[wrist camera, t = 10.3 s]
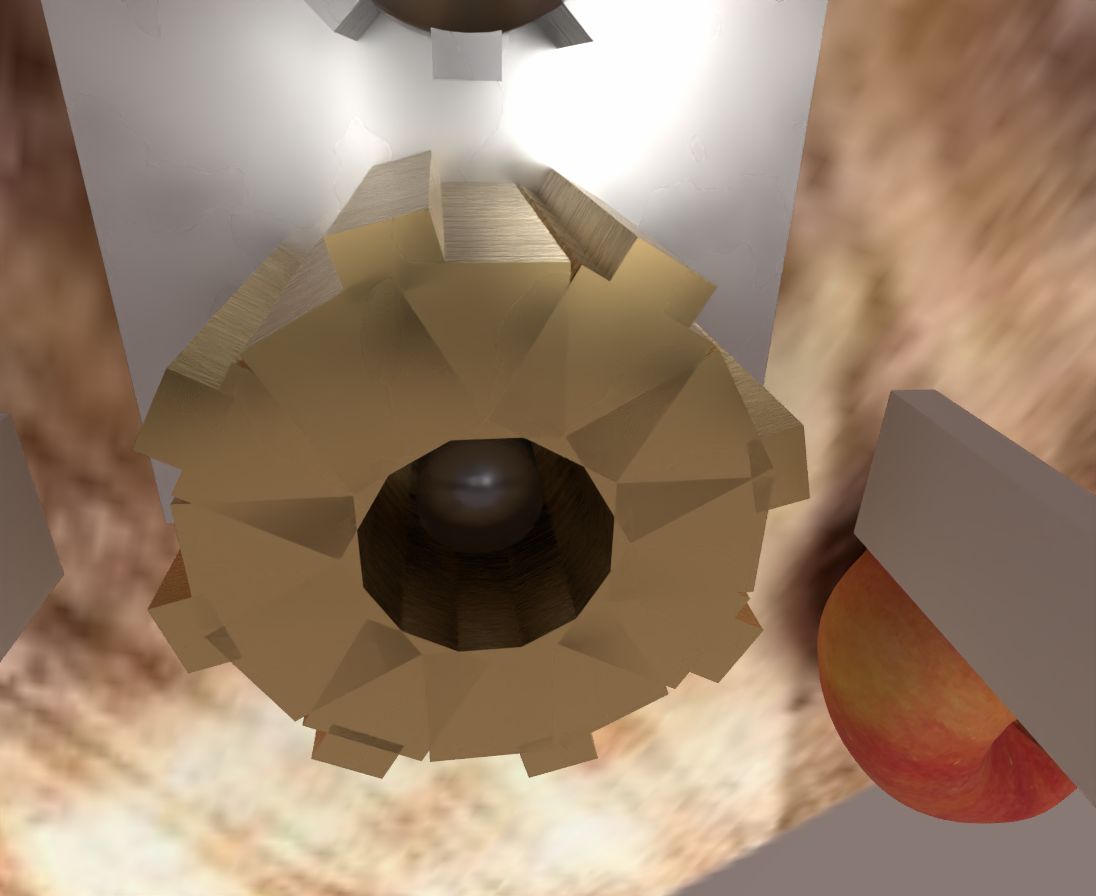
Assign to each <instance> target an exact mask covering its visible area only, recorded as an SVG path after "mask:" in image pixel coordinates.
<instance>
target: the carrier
mask: <svg viewBox="0 0 1096 896" xmlns="http://www.w3.org/2000/svg"><path fill="white" fill-rule="evenodd" d="M41 3H42V7H43V11H44V15H45V19H46V24H47V28H48V32H49V36H50V40H51V45H52V49H53V53H54V57H55V61H56V65H57V70H58V74H59V78H60V82H61V86H62V91H63V95H64V99H65V103H66V107H67V111H68V116H69V120H70V124H71V128H72V132H73V137H74V141H75V145H76V149H77V153H78V158H79V162H80V166H81V170H82V174H83V178H84V183H85V187H86V191H87V195H88V199H89V204H90V208H91V212H92V216H93V220H94V224H95V229H96V233H97V237H98V241H99V245H100V250H101V254H102V258H103V262H104V266H105V271H106V275H107V279H108V283H109V287H110V291H111V296H112V300H113V304H114V308H115V312H116V317H117V321H118V325H119V329H120V333H121V337H122V342H123V346H124V350H125V354H126V358H127V363H128V367H129V371H130V375H131V379H132V383H133V388H134V392H135V396H136V400H137V404H138V409H139V413H140V417H141V421H142V425H143V422H144V420H145V418H146V415H147V413H148V410H149V408H150V406H151V403H152V401H153V399H154V396H155V394H156V391H157V389H158V387H159V384H160V382H161V380H162V377H163V375H164V372H165V370H166V368H167V367H168V366H169V364H170V363H171V362H172V361H173V360H174V359H175V358H176V357H177V356H178V355H179V354H180V352H181V351H182V350H183V349H184V348H185V347H186V346H187V345H188V344H189V343H190V341H191V340H192V339H193V338H194V337H195V336H196V335H197V334H198V333H199V332H200V331H201V329H202V328H203V327H204V326H205V325H206V324H207V323H208V322H209V321H210V320H211V318H212V317H213V316H214V315H215V314H216V313H217V312H218V311H219V310H220V309H221V308H222V306H223V305H224V304H225V303H226V302H227V301H228V300H229V299H230V298H231V297H232V296H233V294H234V293H235V292H236V291H237V290H238V289H239V288H240V287H241V286H242V285H243V283H244V282H245V281H246V280H247V279H248V278H249V277H250V276H251V275H252V274H253V273H254V271H255V270H256V269H257V268H258V267H259V266H260V265H261V264H262V263H263V262H264V261H265V259H266V258H267V257H268V256H269V255H270V254H271V253H272V252H273V251H274V250H275V248H276V247H277V246H278V245H279V244H280V245H282V246H284V247H285V248H287V249H289V250H291V251H293V252H295V253H297V254H299V255H301V256H303V257H306V256H307V254H308V253H309V251H310V250H311V249H312V247H313V246H314V244H315V243H316V242H318V240H319V239H320V237H321V236H323V235H325V234H326V232H327V231H328V229H329V228H330V226H331V225H332V223H333V222H334V221H335V219H336V218H337V216H338V215H339V213H340V212H341V210H342V209H343V207H344V206H345V205H346V203H347V202H348V200H349V199H350V197H351V196H352V194H353V193H354V191H355V190H356V188H357V187H358V186H359V184H360V183H361V181H362V180H363V178H364V177H365V175H366V174H367V172H368V171H369V170H370V168H371V167H372V166H376V165H379V164H383V163H387V162H390V161H394V160H398V159H401V158H405V157H408V156H412V155H416V154H419V153H423V152H427V151H430V150H431V151H432V154H433V158H434V161H435V165H436V168H437V171H438V175H439V178H440V181H441V183H514V184H515V185H516V187H517V188H518V189H519V188H520V186H523V187H524V188H526V189H528V190H529V191H531V192H532V193H534V194H536V195H537V196H538V194H539V193H540V191H541V189H542V187H543V186H544V184H545V182H546V180H547V179H548V177H549V175H550V173H551V171H552V170H553V169H554V170H556V171H557V172H559V173H561V174H562V175H564V176H565V177H567V178H568V179H570V180H572V181H573V182H575V183H576V184H578V185H579V186H581V187H583V188H584V189H586V190H587V191H589V192H590V193H592V194H593V195H595V196H597V197H598V198H600V199H601V200H603V201H604V202H605V203H607V204H608V205H609V206H611V207H612V208H613V209H615V210H616V211H617V212H619V213H620V214H621V215H623V216H624V217H625V218H627V219H628V220H629V221H631V222H632V223H633V224H635V225H636V226H637V227H639V228H640V229H641V230H643V231H644V232H645V233H646V234H648V235H649V236H650V237H652V238H653V239H654V240H656V241H657V242H658V243H660V244H661V245H662V246H664V247H665V248H666V249H668V250H669V251H670V252H672V253H673V254H674V255H676V256H677V257H678V258H680V259H681V260H682V261H684V262H685V263H686V264H688V265H689V266H690V267H692V268H693V269H694V270H695V271H697V272H698V273H699V274H701V275H702V276H703V277H705V278H706V279H707V280H709V281H710V282H711V283H713V284H714V285H715V286H717V288H716V290H715V291H714V293H713V294H712V296H711V297H710V299H709V300H708V302H707V303H706V305H705V306H704V307H703V309H702V310H701V312H700V313H699V315H698V316H697V318H696V319H695V322H696V323H697V324H698V325H699V326H700V327H701V328H702V329H703V330H704V331H705V332H706V333H707V334H708V335H709V336H710V337H711V338H712V339H714V340H715V341H716V342H717V343H718V344H719V345H720V346H721V347H722V348H723V349H724V350H725V351H726V352H727V353H728V354H729V355H730V356H731V357H732V358H733V359H734V360H736V361H737V362H738V363H739V364H740V365H741V366H742V367H743V368H744V369H745V370H746V371H747V372H748V373H749V374H750V375H751V376H752V377H753V378H754V379H755V380H756V381H758V382H759V383H760V384H761V385H762V386H763V383H764V377H765V371H766V365H767V359H768V353H769V347H770V341H771V336H772V330H773V324H774V318H775V312H776V306H777V300H778V294H779V288H780V282H781V276H782V270H783V265H784V259H785V253H786V247H787V241H788V235H789V229H790V223H791V217H792V211H793V205H794V200H795V194H796V188H797V182H798V176H799V170H800V164H801V158H802V152H803V146H804V140H805V134H806V129H807V123H808V117H809V111H810V105H811V99H812V93H813V87H814V81H815V75H816V69H817V64H818V58H819V52H820V46H821V40H822V34H823V28H824V22H825V16H826V10H827V4H828V0H41ZM150 459H151V463H152V467H153V471H154V476H155V480H156V484H157V488H158V492H159V496H160V501H161V505H162V509H163V513H164V517H165V522H166V524H167V523H174V520H173V516H172V511H171V507H170V504H171V502H172V500H173V499H174V496H171V494H172V491H173V489H174V487H175V485H176V483H177V480H178V478H179V476H180V474H181V472H182V470H180V469H178V468H175V467H173V466H170V465H168V464H165V463H163V462H160V461H158V460H155V459H153V458H150ZM542 505H543V488H542V483H541V479H540V475H539V471H538V467H537V464H536V460H535V456H534V452H533V448H532V444H531V441H530V440H528V439H526V438H497V439H471V440H450V441H448V442H447V443H445V444H443V445H441V446H440V447H438V448H436V449H434V450H432V451H431V452H429V453H427V454H425V455H424V456H422V457H420V458H418V460H417V482H416V509H417V513H418V517H419V519H420V521H421V523H422V525H423V527H424V528H425V530H426V531H427V532H428V533H429V534H430V535H431V536H432V537H433V538H434V539H435V540H436V541H438V542H439V543H441V544H443V545H444V546H446V547H449V548H451V549H454V550H457V551H461V552H465V553H489V552H494V551H498V550H501V549H504V548H506V547H508V546H510V545H512V544H514V543H516V542H517V541H519V540H520V539H521V538H523V537H524V536H525V535H526V534H527V533H528V532H529V531H530V530H531V529H532V527H533V526H534V525H535V523H536V521H537V520H538V518H539V515H540V513H541V509H542Z"/></svg>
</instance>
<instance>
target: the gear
mask: <svg viewBox="0 0 1096 896" xmlns="http://www.w3.org/2000/svg"><path fill="white" fill-rule="evenodd" d="M716 288H717V286H715V285H714V284H713V283H711V282H710V281H709V280H707V279H706V278H705V277H703V276H702V275H701V274H699V273H698V272H697V271H695V270H694V269H693V268H692V267H690V266H689V265H688V264H686V263H685V262H684V261H682V260H681V259H680V258H678V257H677V256H676V255H674V254H673V253H672V252H670V251H669V250H668V249H666V248H665V247H664V246H662V245H661V244H660V243H658V242H657V241H656V240H654V239H653V238H652V237H650V236H649V235H648V234H646V233H645V232H644V231H643V230H641V229H640V228H639V227H637V226H636V225H635V224H633V223H632V222H631V221H629V220H628V219H627V218H625V217H624V216H623V215H621V214H620V213H619V212H617V211H616V210H615V209H613V208H612V207H611V206H609V205H608V204H607V203H605V202H604V201H603V200H601V199H600V198H598V197H597V196H595V195H593V194H592V193H590V192H589V191H587V190H586V189H584V188H583V187H581V186H579V185H578V184H576V183H575V182H573V181H572V180H570V179H568V178H567V177H565V176H564V175H562V174H561V173H559V172H557V171H556V170H554V169H553V170H552V171H551V173H550V175H549V177H548V179H547V180H546V182H545V184H544V186H543V187H542V189H541V191H540V193H539V194H538V196H537V195H536V194H534V193H532V192H531V191H529V190H528V189H526V188H524V187H523V186H520V188H519V189H518V188H517V187H516V185H515V184H514V183H441V181H440V178H439V175H438V171H437V168H436V165H435V161H434V158H433V154H432V151H431V150H430V151H427V152H423V153H419V154H416V155H412V156H408V157H405V158H401V159H398V160H394V161H390V162H387V163H383V164H379V165H376V166H372V167H371V168H370V170H369V171H368V172H367V174H366V175H365V177H364V178H363V180H362V181H361V183H360V184H359V186H358V187H357V188H356V190H355V191H354V193H353V194H352V196H351V197H350V199H349V200H348V202H347V203H346V205H345V206H344V207H343V209H342V210H341V212H340V213H339V215H338V216H337V218H336V219H335V221H334V222H333V223H332V225H331V226H330V228H329V229H328V231H327V232H326V234H325V235H323V236H321V237H320V239H319V240H318V242H316V243H315V244H314V246H313V247H312V249H311V250H310V251H309V253H308V254H307V256H306V257H303V256H301V255H299V254H297V253H295V252H293V251H291V250H289V249H287V248H285V247H284V246H282V245H280V244H279V245H278V246H277V247H276V248H275V250H274V251H273V252H272V253H271V254H270V255H269V256H268V257H267V258H266V259H265V261H264V262H263V263H262V264H261V265H260V266H259V267H258V268H257V269H256V270H255V271H254V273H253V274H252V275H251V276H250V277H249V278H248V279H247V280H246V281H245V282H244V283H243V285H242V286H241V287H240V288H239V289H238V290H237V291H236V292H235V293H234V294H233V296H232V297H231V298H230V299H229V300H228V301H227V302H226V303H225V304H224V305H223V306H222V308H221V309H220V310H219V311H218V312H217V313H216V314H215V315H214V316H213V317H212V318H211V320H210V321H209V322H208V323H207V324H206V325H205V326H204V327H203V328H202V329H201V331H200V332H199V333H198V334H197V335H196V336H195V337H194V338H193V339H192V340H191V341H190V343H189V344H188V345H187V346H186V347H185V348H184V349H183V350H182V351H181V352H180V354H179V355H178V356H177V357H176V358H175V359H174V360H173V361H172V362H171V363H170V364H169V366H168V367H167V368H166V370H165V372H164V375H163V377H162V380H161V382H160V384H159V387H158V389H157V391H156V394H155V396H154V399H153V401H152V403H151V406H150V408H149V410H148V413H147V415H146V418H145V420H144V422H143V425H142V427H141V429H140V432H139V434H138V437H137V439H136V441H135V444H134V446H133V448H132V451H135V452H138V453H140V454H143V455H145V456H148V457H150V458H153V459H155V460H158V461H160V462H163V463H165V464H168V465H170V466H173V467H175V468H178V469H180V470H182V472H181V474H180V476H179V478H178V480H177V483H176V485H175V487H174V489H173V491H172V494H171V496H174V499H173V500H172V502H171V504H170V507H171V511H172V516H173V520H174V524H175V528H176V532H177V537H178V541H179V545H180V550H179V552H178V554H177V556H176V558H175V559H174V561H173V563H172V565H171V567H170V569H169V571H168V572H167V574H166V576H165V578H164V580H163V582H162V584H161V585H160V587H159V589H158V591H157V593H156V595H155V597H154V599H153V600H152V602H151V604H150V606H149V608H148V612H149V613H150V615H151V616H152V618H153V619H154V621H155V622H156V624H157V625H158V627H159V629H160V630H161V632H162V633H163V635H164V636H165V638H166V639H167V641H168V642H169V644H170V646H171V647H172V649H173V650H174V652H175V653H176V655H177V656H178V658H179V659H180V661H181V663H182V664H183V666H184V667H185V669H186V670H187V672H188V673H191V672H195V671H198V670H202V669H206V668H209V667H213V666H216V665H220V664H223V663H227V662H230V661H231V662H232V663H233V664H234V665H235V666H236V667H237V668H238V669H239V670H240V671H242V672H243V673H244V674H245V675H246V676H247V677H248V678H249V679H250V680H251V681H252V682H253V683H254V684H255V685H257V686H258V687H259V688H260V689H261V690H262V691H263V692H264V693H265V694H266V695H267V696H268V697H269V698H270V699H272V700H273V701H274V702H275V703H276V704H277V705H278V706H279V707H280V708H281V709H282V710H283V711H284V712H286V713H287V714H288V715H289V716H290V717H291V718H292V719H293V720H294V721H297V720H298V719H300V718H302V717H304V721H303V726H306V727H309V728H313V729H316V736H315V741H314V747H313V752H312V758H311V759H314V760H318V761H321V762H325V763H328V764H332V765H336V766H339V767H343V768H346V769H350V770H353V771H357V772H360V773H364V774H367V775H371V776H374V777H378V778H381V779H382V778H383V777H384V775H385V774H386V772H387V771H388V769H389V768H390V767H391V765H392V764H393V762H394V761H395V759H396V758H397V756H398V755H399V754H400V755H403V756H406V757H410V758H413V759H416V760H420V761H422V760H423V758H424V757H425V756H426V754H427V753H428V751H429V752H430V762H433V761H444V760H455V759H465V758H476V757H487V756H497V755H508V754H518V753H520V756H521V758H522V761H523V763H524V766H525V769H526V771H527V774H528V777H529V778H530V777H533V776H537V775H541V774H544V773H548V772H551V771H555V770H558V769H562V768H565V767H569V766H572V765H576V764H579V763H583V762H586V761H590V760H593V759H597V758H598V757H597V753H596V749H595V744H594V740H593V736H592V732H594V731H596V730H598V729H600V728H602V727H604V726H606V725H608V724H610V723H612V722H614V721H616V720H618V719H620V718H622V717H624V716H626V715H628V714H630V713H632V712H634V711H636V710H638V709H640V708H642V707H644V706H646V705H648V704H650V703H652V702H654V701H656V700H658V699H660V698H662V697H664V696H666V695H668V691H667V688H666V686H669V687H671V688H674V689H675V688H676V687H677V686H678V685H679V684H680V682H681V681H682V680H683V679H684V678H685V676H686V675H687V674H688V673H689V672H691V673H694V674H696V675H699V676H701V677H704V678H706V679H709V680H712V681H714V682H717V683H719V682H720V681H721V679H722V678H723V677H724V676H725V675H726V673H727V672H728V671H729V670H730V669H731V668H732V666H733V665H734V664H735V663H736V662H737V661H738V659H739V658H740V657H741V656H742V655H743V654H744V652H745V651H746V650H747V649H748V648H749V646H750V645H751V644H752V643H753V642H754V641H755V639H756V638H757V637H758V636H759V635H760V634H761V632H762V631H763V629H762V627H761V626H760V624H759V622H758V621H757V619H756V617H755V616H754V614H753V612H752V610H751V609H750V607H749V605H748V604H747V602H748V600H749V599H750V598H749V597H748V595H747V593H746V592H753V591H754V585H755V580H756V574H757V569H758V563H759V558H760V552H761V547H762V541H763V536H764V530H765V525H766V519H767V514H768V510H769V509H773V508H776V507H780V506H783V505H787V504H790V503H794V502H798V501H801V500H805V499H808V498H810V495H809V483H808V471H807V460H806V448H805V436H804V425H803V424H802V423H801V422H799V421H798V420H797V419H796V418H795V417H794V416H793V415H792V414H791V413H790V412H789V411H788V410H787V409H786V408H785V407H784V406H783V405H782V404H781V403H780V402H778V401H777V400H776V399H775V398H774V397H773V396H772V395H771V394H770V393H769V392H768V391H767V390H766V389H765V388H764V387H763V386H762V385H761V384H760V383H759V382H758V381H756V380H755V379H754V378H753V377H752V376H751V375H750V374H749V373H748V372H747V371H746V370H745V369H744V368H743V367H742V366H741V365H740V364H739V363H738V362H737V361H736V360H734V359H733V358H732V357H731V356H730V355H729V354H728V353H727V352H726V351H725V350H724V349H723V348H722V347H721V346H720V345H719V344H718V343H717V342H716V341H715V340H714V339H712V338H711V337H710V336H709V335H708V334H707V333H706V332H705V331H704V330H703V329H702V328H701V327H700V326H699V325H698V324H697V323H696V322H695V319H696V318H697V316H698V315H699V313H700V312H701V310H702V309H703V307H704V306H705V305H706V303H707V302H708V300H709V299H710V297H711V296H712V294H713V293H714V291H715V290H716ZM497 438H526V439H528V440H530V441H531V444H532V448H533V452H534V456H535V460H536V464H537V467H538V471H539V475H540V479H541V483H542V488H543V505H542V509H541V513H540V515H539V518H538V520H537V521H536V523H535V525H534V526H533V527H532V529H531V530H530V531H529V532H528V533H527V534H526V535H525V536H524V537H523V538H521V539H520V540H519V541H517V542H516V543H514V544H512V545H510V546H508V547H506V548H504V549H501V550H498V551H494V552H489V553H465V552H461V551H457V550H454V549H451V548H449V547H446V546H444V545H443V544H441V543H439V542H438V541H436V540H435V539H434V538H433V537H432V536H431V535H430V534H429V533H428V532H427V531H426V530H425V528H424V527H423V525H422V523H421V521H420V519H419V517H418V513H417V509H416V482H417V460H418V458H420V457H422V456H424V455H425V454H427V453H429V452H431V451H432V450H434V449H436V448H438V447H440V446H441V445H443V444H445V443H447V442H448V441H450V440H471V439H497ZM665 685H666V686H665Z"/></svg>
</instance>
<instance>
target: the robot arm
mask: <svg viewBox="0 0 1096 896" xmlns="http://www.w3.org/2000/svg"><path fill="white" fill-rule="evenodd" d="M854 534H855V535H856V536H857V537H858V539H859V540H860V541H861V542H862V543H863V544H864V545H865V547H866V548H867V549H868V550H869V551H870V552H871V553H872V554H873V556H874V557H875V558H876V559H877V560H878V561H879V562H880V564H881V565H882V566H883V567H884V568H885V569H886V570H887V572H888V573H889V574H890V575H891V576H892V577H893V578H894V579H895V581H896V582H897V583H898V584H899V585H900V586H901V587H902V589H903V590H904V591H905V592H906V593H907V594H908V595H909V597H910V598H911V599H912V600H913V601H914V602H915V603H916V605H917V606H918V607H919V608H920V609H921V610H922V611H923V612H924V614H925V615H926V616H927V617H928V618H929V619H930V620H931V622H932V623H933V624H934V625H935V626H936V627H937V628H938V630H939V631H940V632H941V633H942V634H943V635H944V636H945V637H946V639H947V640H948V641H949V642H950V643H951V644H952V645H953V647H954V648H955V649H956V650H957V651H958V652H959V653H960V655H961V656H962V657H963V658H964V659H965V660H966V661H967V662H968V664H969V665H970V666H971V667H972V668H973V669H974V670H975V672H976V673H977V674H978V675H979V676H980V677H981V678H982V680H983V681H984V682H985V683H986V684H987V685H988V686H989V687H990V689H991V690H992V691H993V692H994V693H995V694H996V695H997V697H998V698H999V699H1000V700H1001V701H1002V702H1003V703H1004V705H1005V706H1006V707H1007V708H1008V709H1009V710H1010V711H1011V712H1012V714H1013V715H1014V716H1015V717H1016V718H1017V719H1018V720H1019V722H1020V723H1021V724H1022V725H1023V726H1024V727H1025V728H1026V730H1027V731H1028V732H1029V733H1030V734H1031V735H1032V736H1033V737H1034V739H1035V740H1036V741H1037V742H1038V743H1039V744H1040V745H1041V747H1042V748H1043V749H1044V750H1045V751H1046V752H1047V753H1048V755H1049V756H1050V757H1051V758H1052V759H1053V760H1054V761H1055V762H1056V764H1057V765H1058V766H1059V767H1060V768H1061V769H1062V770H1063V772H1064V773H1065V774H1066V775H1067V776H1068V777H1069V778H1070V780H1071V781H1072V782H1073V783H1074V784H1075V785H1076V786H1077V788H1078V789H1079V790H1080V791H1081V792H1082V793H1083V794H1084V795H1085V796H1086V798H1087V799H1088V800H1089V801H1090V802H1091V803H1092V805H1093V806H1094V807H1095V808H1096V496H1095V495H1093V494H1092V493H1090V492H1089V491H1087V490H1086V489H1084V488H1083V487H1081V486H1080V485H1078V484H1077V483H1075V482H1073V481H1072V480H1070V479H1069V478H1067V477H1066V476H1064V475H1063V474H1061V473H1060V472H1058V471H1057V470H1055V469H1054V468H1052V467H1051V466H1049V465H1048V464H1046V463H1045V462H1043V461H1042V460H1040V459H1039V458H1037V457H1036V456H1034V455H1033V454H1031V453H1030V452H1028V451H1027V450H1025V449H1024V448H1022V447H1021V446H1019V445H1018V444H1016V443H1015V442H1013V441H1012V440H1010V439H1009V438H1007V437H1006V436H1004V435H1003V434H1001V433H1000V432H998V431H997V430H995V429H993V428H992V427H990V426H989V425H987V424H986V423H984V422H983V421H981V420H980V419H978V418H977V417H975V416H974V415H972V414H971V413H969V412H968V411H966V410H965V409H963V408H962V407H960V406H959V405H957V404H956V403H954V402H953V401H951V400H950V399H948V398H947V397H945V396H944V395H942V394H941V393H939V392H938V391H936V390H897V391H891V392H890V396H889V400H888V404H887V408H886V411H885V415H884V419H883V423H882V427H881V430H880V434H879V438H878V442H877V446H876V449H875V453H874V457H873V461H872V465H871V468H870V472H869V476H868V480H867V484H866V487H865V491H864V495H863V499H862V503H861V507H860V510H859V514H858V518H857V522H856V526H855V529H854ZM63 575H64V572H63V569H62V566H61V563H60V560H59V557H58V554H57V551H56V548H55V545H54V542H53V539H52V536H51V533H50V530H49V527H48V524H47V521H46V518H45V515H44V512H43V509H42V506H41V503H40V500H39V497H38V494H37V491H36V488H35V485H34V482H33V479H32V476H31V473H30V470H29V467H28V464H27V461H26V458H25V455H24V452H23V449H22V446H21V443H20V440H19V437H18V434H17V431H16V428H15V425H14V422H13V419H12V416H11V413H3V414H0V662H1V660H2V659H3V658H4V656H5V655H6V654H7V652H8V651H9V649H10V648H11V647H12V645H13V644H14V643H15V641H16V640H17V638H18V637H19V636H20V634H21V633H22V632H23V630H24V629H25V627H26V626H27V625H28V623H29V622H30V621H31V619H32V618H33V616H34V615H35V614H36V612H37V611H38V610H39V608H40V607H41V605H42V604H43V603H44V601H45V600H46V599H47V597H48V596H49V594H50V593H51V592H52V590H53V589H54V588H55V586H56V585H57V583H58V582H59V581H60V579H61V578H62V577H63Z"/></svg>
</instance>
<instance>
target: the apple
mask: <svg viewBox="0 0 1096 896" xmlns="http://www.w3.org/2000/svg"><path fill="white" fill-rule="evenodd" d="M817 654H818V668H819V675H820V682H821V687H822V692H823V695H824V699H825V702H826V705H827V708H828V712H829V714H830V717H831V719H832V721H833V724H834V726H835V728H836V730H837V732H838V734H839V736H840V738H841V740H842V741H843V743H844V745H845V746H846V748H847V749H848V751H849V752H850V754H851V755H852V756H853V758H854V759H855V760H856V762H857V763H858V764H859V766H860V767H861V768H862V770H863V771H864V772H865V773H866V774H867V775H868V776H869V777H870V778H871V779H872V780H873V781H874V782H875V783H876V784H877V785H878V786H879V787H880V788H881V789H883V790H884V791H885V792H886V793H887V794H889V795H890V796H891V797H893V798H894V799H896V800H897V801H899V802H901V803H902V804H904V805H906V806H908V807H910V808H912V809H914V810H916V811H919V812H921V813H924V814H927V815H929V816H933V817H936V818H940V819H944V820H950V821H956V822H964V823H1003V822H1014V821H1019V820H1024V819H1028V818H1032V817H1034V816H1037V815H1039V814H1041V813H1044V812H1046V811H1048V810H1049V809H1051V808H1052V807H1054V806H1055V805H1057V804H1058V803H1060V802H1061V801H1062V800H1064V799H1065V798H1066V797H1067V796H1069V795H1070V794H1071V793H1072V792H1073V791H1074V790H1075V789H1077V786H1076V785H1075V784H1074V783H1073V782H1072V781H1071V780H1070V778H1069V777H1068V776H1067V775H1066V774H1065V773H1064V772H1063V770H1062V769H1061V768H1060V767H1059V766H1058V765H1057V764H1056V762H1055V761H1054V760H1053V759H1052V758H1051V757H1050V756H1049V755H1048V753H1047V752H1046V751H1045V750H1044V749H1043V748H1042V747H1041V745H1040V744H1039V743H1038V742H1037V741H1036V740H1035V739H1034V737H1033V736H1032V735H1031V734H1030V733H1029V732H1028V731H1027V730H1026V728H1025V727H1024V726H1023V725H1022V724H1021V723H1020V722H1019V720H1018V719H1017V718H1016V717H1015V716H1014V715H1013V714H1012V712H1011V711H1010V710H1009V709H1008V708H1007V707H1006V706H1005V705H1004V703H1003V702H1002V701H1001V700H1000V699H999V698H998V697H997V695H996V694H995V693H994V692H993V691H992V690H991V689H990V687H989V686H988V685H987V684H986V683H985V682H984V681H983V680H982V678H981V677H980V676H979V675H978V674H977V673H976V672H975V670H974V669H973V668H972V667H971V666H970V665H969V664H968V662H967V661H966V660H965V659H964V658H963V657H962V656H961V655H960V653H959V652H958V651H957V650H956V649H955V648H954V647H953V645H952V644H951V643H950V642H949V641H948V640H947V639H946V637H945V636H944V635H943V634H942V633H941V632H940V631H939V630H938V628H937V627H936V626H935V625H934V624H933V623H932V622H931V620H930V619H929V618H928V617H927V616H926V615H925V614H924V612H923V611H922V610H921V609H920V608H919V607H918V606H917V605H916V603H915V602H914V601H913V600H912V599H911V598H910V597H909V595H908V594H907V593H906V592H905V591H904V590H903V589H902V587H901V586H900V585H899V584H898V583H897V582H896V581H895V579H894V578H893V577H892V576H891V575H890V574H889V573H888V572H887V570H886V569H885V568H884V567H883V566H882V565H881V564H880V562H879V561H878V560H877V559H876V558H875V557H874V556H873V554H872V553H871V552H870V551H869V550H868V549H866V551H865V552H864V553H863V554H862V555H861V556H860V557H859V558H858V560H857V561H856V562H855V563H854V564H853V565H852V566H851V567H850V568H849V569H848V571H847V572H846V573H845V574H844V575H843V577H842V578H841V579H840V581H839V582H838V583H837V585H836V586H835V588H834V589H833V591H832V593H831V595H830V596H829V598H828V601H827V603H826V605H825V608H824V611H823V614H822V617H821V621H820V626H819V632H818V647H817Z"/></svg>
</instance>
